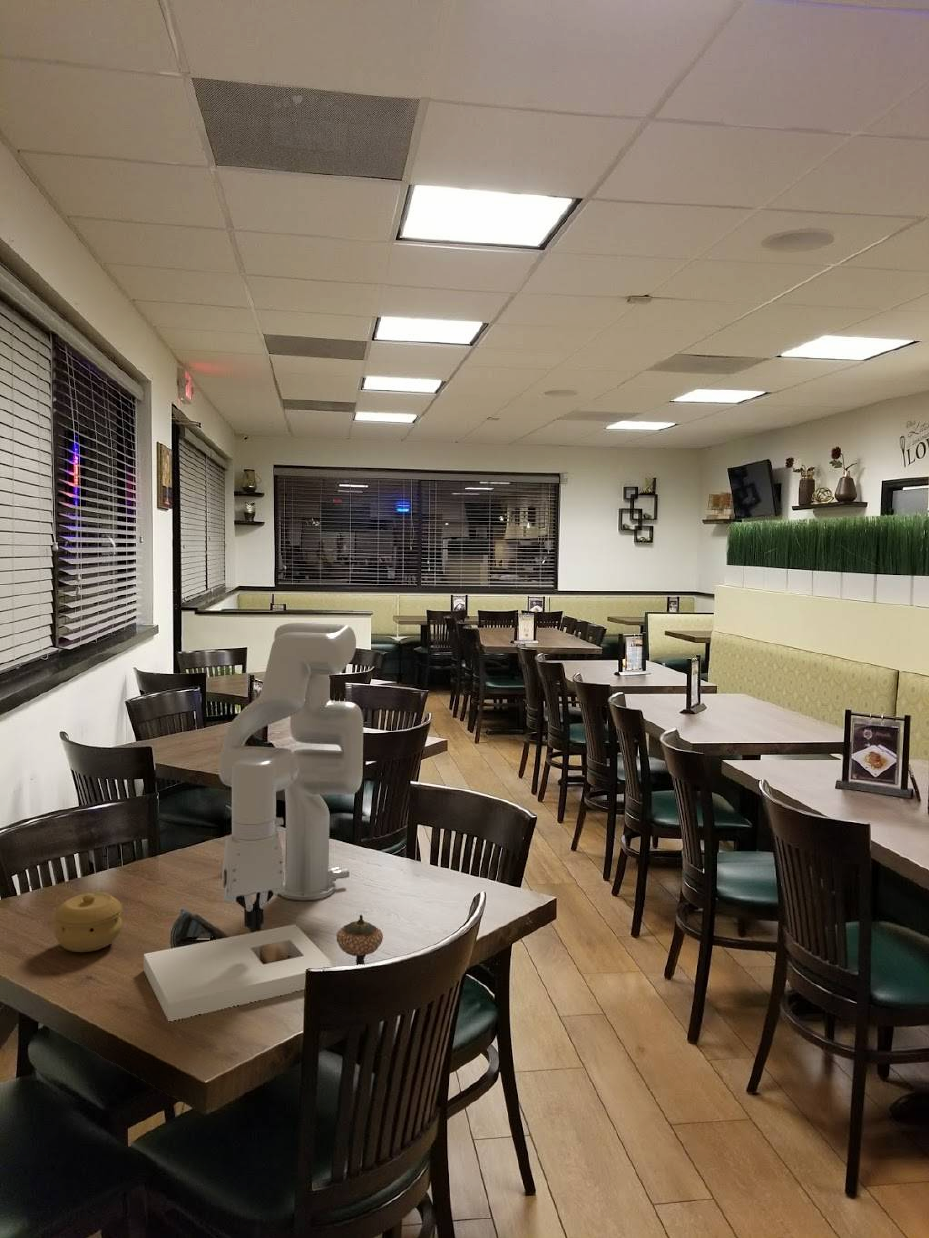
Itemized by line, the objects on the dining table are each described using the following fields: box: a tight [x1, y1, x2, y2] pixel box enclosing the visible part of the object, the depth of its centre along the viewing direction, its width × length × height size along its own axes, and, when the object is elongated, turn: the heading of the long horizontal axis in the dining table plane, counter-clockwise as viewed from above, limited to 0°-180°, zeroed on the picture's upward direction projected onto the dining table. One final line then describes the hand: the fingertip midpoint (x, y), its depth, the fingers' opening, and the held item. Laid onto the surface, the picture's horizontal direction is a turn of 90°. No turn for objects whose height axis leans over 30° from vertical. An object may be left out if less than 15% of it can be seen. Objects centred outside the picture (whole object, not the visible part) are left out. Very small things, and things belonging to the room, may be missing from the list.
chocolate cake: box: [169, 909, 231, 949], centre depth 168 cm, size 10×7×12 cm
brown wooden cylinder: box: [260, 941, 288, 965], centre depth 157 cm, size 5×5×4 cm
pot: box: [53, 892, 123, 953], centre depth 165 cm, size 12×12×10 cm
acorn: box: [335, 914, 384, 966], centre depth 159 cm, size 8×8×10 cm
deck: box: [143, 924, 335, 1022], centre depth 155 cm, size 28×20×3 cm
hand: (253, 928), depth 156 cm, fingers closed
